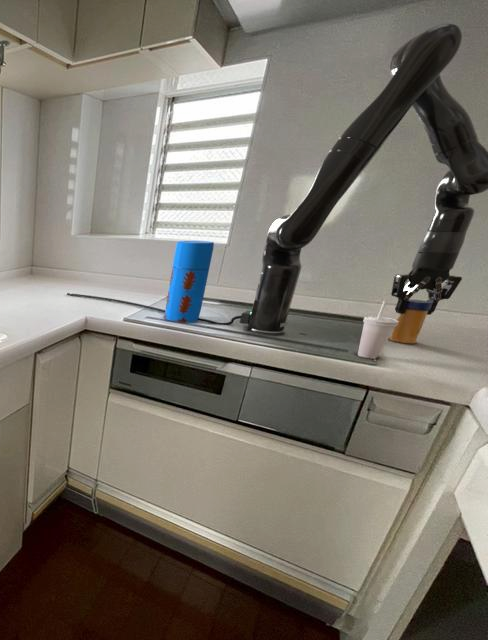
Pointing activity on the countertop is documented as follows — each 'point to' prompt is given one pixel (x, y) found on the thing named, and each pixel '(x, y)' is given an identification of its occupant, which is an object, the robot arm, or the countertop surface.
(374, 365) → the countertop surface
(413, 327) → the jam jar
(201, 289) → the thermos
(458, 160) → the robot arm
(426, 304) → the jam lid
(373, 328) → the smoothie
